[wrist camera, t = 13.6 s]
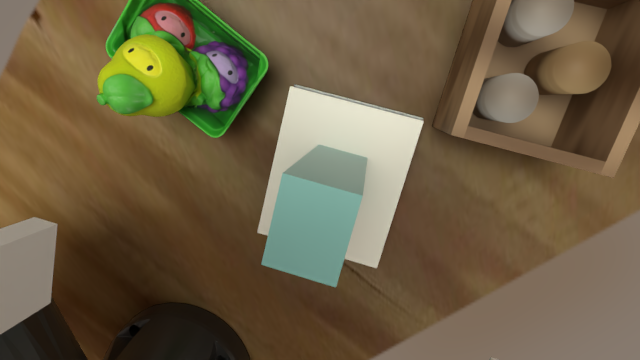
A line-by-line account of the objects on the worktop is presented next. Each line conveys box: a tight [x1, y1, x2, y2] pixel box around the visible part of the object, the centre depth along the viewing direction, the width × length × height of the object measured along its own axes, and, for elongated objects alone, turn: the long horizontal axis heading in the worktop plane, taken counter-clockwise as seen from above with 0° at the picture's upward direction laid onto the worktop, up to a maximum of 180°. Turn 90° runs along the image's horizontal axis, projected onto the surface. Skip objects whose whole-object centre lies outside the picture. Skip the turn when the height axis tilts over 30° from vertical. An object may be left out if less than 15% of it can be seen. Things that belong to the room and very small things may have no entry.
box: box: [432, 0, 640, 178], centre depth 25 cm, size 12×10×8 cm
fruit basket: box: [97, 0, 268, 138], centre depth 27 cm, size 11×9×11 cm
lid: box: [257, 86, 424, 287], centre depth 25 cm, size 13×11×14 cm
